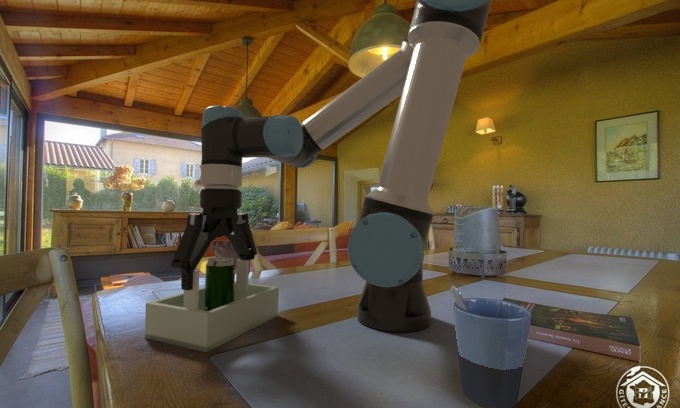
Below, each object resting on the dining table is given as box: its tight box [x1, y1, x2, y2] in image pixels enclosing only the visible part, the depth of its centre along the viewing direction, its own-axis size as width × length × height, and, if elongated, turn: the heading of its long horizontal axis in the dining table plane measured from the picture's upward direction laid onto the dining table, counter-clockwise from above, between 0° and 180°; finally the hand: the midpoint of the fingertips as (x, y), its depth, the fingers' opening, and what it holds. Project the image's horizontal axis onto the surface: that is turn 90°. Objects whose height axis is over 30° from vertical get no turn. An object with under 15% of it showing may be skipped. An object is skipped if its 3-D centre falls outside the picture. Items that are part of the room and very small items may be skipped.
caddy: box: [144, 281, 280, 353], centre depth 63 cm, size 14×20×6 cm
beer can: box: [204, 256, 236, 311], centre depth 63 cm, size 5×5×12 cm
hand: (219, 298), depth 63 cm, fingers open, 13 cm apart
